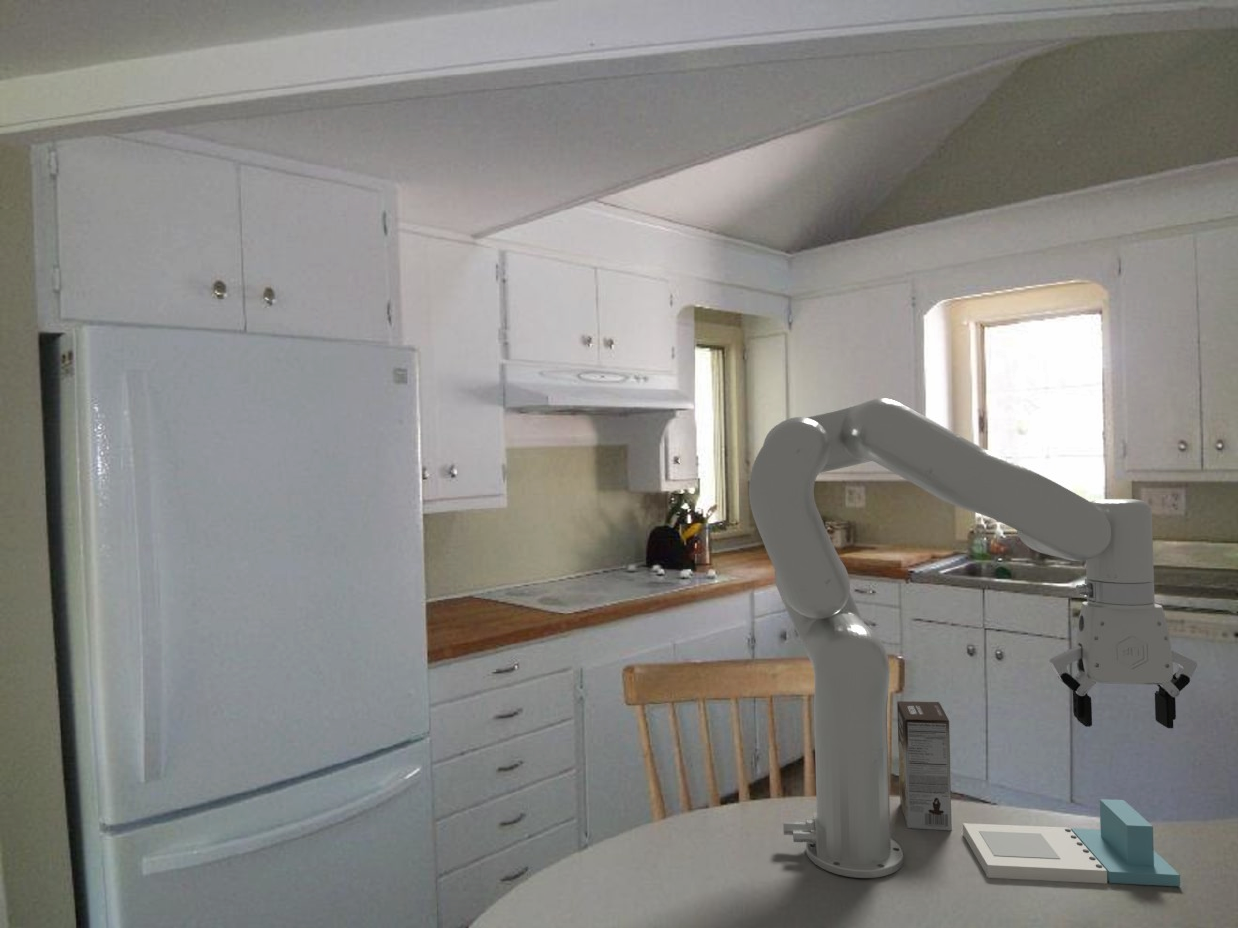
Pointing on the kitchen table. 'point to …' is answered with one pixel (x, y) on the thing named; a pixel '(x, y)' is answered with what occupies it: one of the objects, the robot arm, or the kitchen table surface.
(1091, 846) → the stub
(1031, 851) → the white notebook
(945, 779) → the coffee box
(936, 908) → the kitchen table surface
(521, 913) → the kitchen table surface
